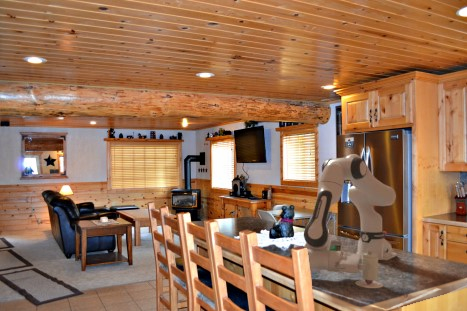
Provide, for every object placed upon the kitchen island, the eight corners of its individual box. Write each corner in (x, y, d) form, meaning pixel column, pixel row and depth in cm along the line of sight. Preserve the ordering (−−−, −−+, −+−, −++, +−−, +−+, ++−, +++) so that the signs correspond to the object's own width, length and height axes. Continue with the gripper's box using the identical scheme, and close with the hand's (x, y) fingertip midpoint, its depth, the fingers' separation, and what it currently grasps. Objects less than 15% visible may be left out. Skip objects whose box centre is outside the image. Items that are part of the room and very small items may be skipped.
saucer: (365, 280, 178) (365, 278, 178) (388, 286, 169) (388, 284, 169) (349, 285, 171) (349, 283, 171) (373, 291, 162) (373, 289, 162)
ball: (367, 282, 172) (367, 275, 172) (374, 284, 170) (374, 276, 170) (363, 283, 170) (363, 276, 170) (370, 285, 168) (370, 278, 168)
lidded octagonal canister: (367, 275, 174) (367, 249, 174) (380, 278, 169) (380, 251, 169) (359, 277, 170) (359, 250, 170) (372, 281, 165) (372, 253, 166)
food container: (318, 256, 221) (318, 238, 222) (328, 255, 224) (328, 237, 224) (331, 261, 210) (331, 242, 210) (341, 260, 212) (341, 241, 212)
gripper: (333, 259, 165) (369, 262, 160) (340, 249, 184) (372, 252, 179) (333, 275, 165) (369, 279, 160) (340, 263, 184) (372, 266, 179)
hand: (371, 264), depth 170 cm, fingers closed on lidded octagonal canister, 6 cm apart
